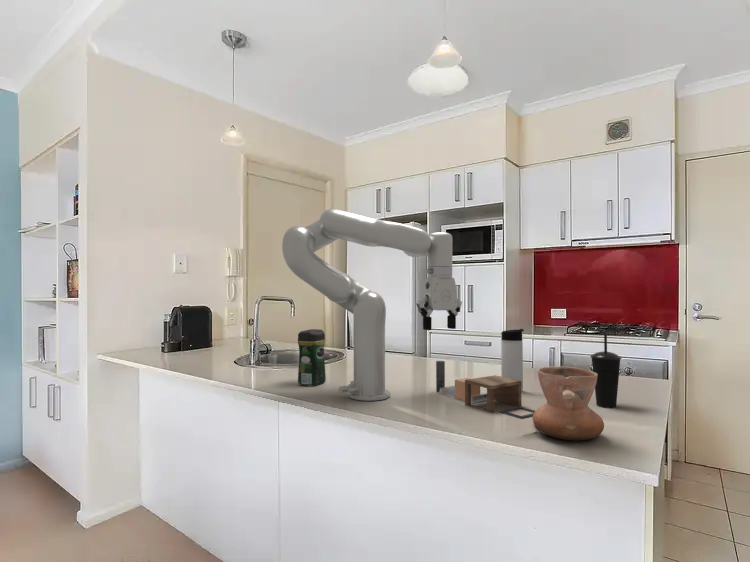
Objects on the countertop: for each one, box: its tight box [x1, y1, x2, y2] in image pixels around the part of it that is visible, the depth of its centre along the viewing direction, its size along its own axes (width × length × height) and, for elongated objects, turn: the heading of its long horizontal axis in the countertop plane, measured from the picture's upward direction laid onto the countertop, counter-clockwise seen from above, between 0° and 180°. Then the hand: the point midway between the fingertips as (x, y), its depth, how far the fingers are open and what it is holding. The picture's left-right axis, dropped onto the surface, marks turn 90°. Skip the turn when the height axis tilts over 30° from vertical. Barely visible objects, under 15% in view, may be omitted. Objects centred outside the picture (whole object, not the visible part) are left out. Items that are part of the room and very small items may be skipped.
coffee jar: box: [297, 328, 327, 387], centre depth 154 cm, size 10×8×19 cm
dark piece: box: [499, 406, 536, 420], centre depth 112 cm, size 8×7×2 cm
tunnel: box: [464, 374, 523, 414], centre depth 119 cm, size 12×9×8 cm
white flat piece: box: [435, 360, 487, 405], centre depth 130 cm, size 7×18×10 cm, turn 33°
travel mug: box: [500, 328, 524, 393], centre depth 138 cm, size 6×7×20 cm
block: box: [454, 377, 481, 400], centre depth 127 cm, size 5×5×5 cm
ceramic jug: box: [532, 365, 605, 442], centre depth 100 cm, size 18×14×14 cm
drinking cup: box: [590, 332, 622, 409], centre depth 124 cm, size 8×8×20 cm
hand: (439, 329), depth 137 cm, fingers open, 9 cm apart
